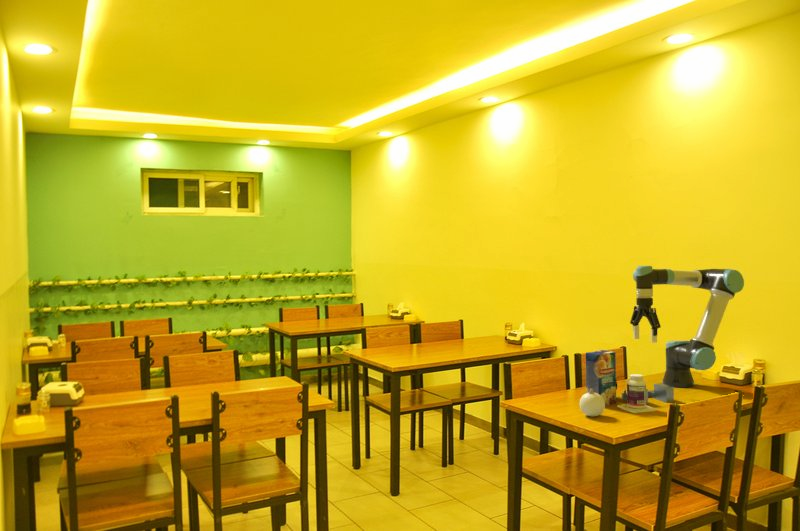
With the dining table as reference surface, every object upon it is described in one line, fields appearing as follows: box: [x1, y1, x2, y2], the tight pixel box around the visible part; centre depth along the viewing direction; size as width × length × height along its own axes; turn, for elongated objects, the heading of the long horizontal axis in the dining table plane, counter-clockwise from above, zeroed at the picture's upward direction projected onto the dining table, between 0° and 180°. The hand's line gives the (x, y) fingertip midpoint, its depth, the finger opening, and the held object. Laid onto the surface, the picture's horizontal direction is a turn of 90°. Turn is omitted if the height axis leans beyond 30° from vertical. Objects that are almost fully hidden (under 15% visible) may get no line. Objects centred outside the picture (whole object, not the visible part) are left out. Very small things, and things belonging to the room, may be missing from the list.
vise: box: [621, 382, 675, 405], centre depth 304 cm, size 24×14×7 cm, turn 105°
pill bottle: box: [626, 373, 647, 409], centre depth 288 cm, size 8×8×14 cm
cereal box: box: [585, 349, 617, 407], centre depth 299 cm, size 12×8×24 cm, turn 123°
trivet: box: [616, 403, 658, 414], centre depth 288 cm, size 12×12×1 cm
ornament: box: [579, 389, 606, 418], centre depth 278 cm, size 10×10×12 cm
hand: (645, 340), depth 314 cm, fingers open, 13 cm apart
